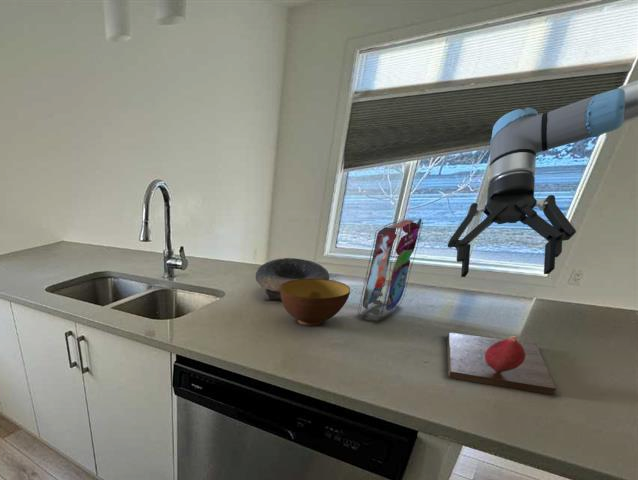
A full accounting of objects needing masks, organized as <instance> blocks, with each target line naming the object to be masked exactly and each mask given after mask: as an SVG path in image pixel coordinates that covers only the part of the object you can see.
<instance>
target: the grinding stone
mask: <svg viewBox="0 0 638 480" xmlns="http://www.w3.org/2000/svg"><path fill="white" fill-rule="evenodd" d="M297 279H327V280H330V274H329V271H328V270H327V269H326V268H325V267H324V266H322V265H321V264H320V263H317V262H314V261H311V260H308V259H303V258H297V257H296V258H295V257H283V258H277V259H272V260H270V261H267V262H265V263H263V264H262V265H260V266H259V267H258V269H257V270H256V272H255V280H256V282H257V283H258V284H259V285H260V286H261V287H262V288H263V289H264V290H265V295H266V301H274V300H281V294H280V289H281V285H282V284H284V283H286V282H288V281H292V280H297Z"/></svg>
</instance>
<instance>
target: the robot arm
mask: <svg viewBox="0 0 638 480" xmlns="http://www.w3.org/2000/svg"><path fill="white" fill-rule="evenodd" d="M636 120H638V79H637V80H634V81H632V82H629V83H626V84H623V85H621V86H619V87H616V88H614V89H610V90H608V91H605V92H601V93H598V94H597V93H596V94H595V95H593V96H590V97H586V98H584V99H581V100H579V101H578V100H577V101H576V102H573V103H570V104H567V105H564V106H561V107H558V108H556V109H552V110H550V111H547V112H543V113H538V111H537V109H534V108H533V107H525V108H524V109H521V108H519V109H514V110H512V111H510V112H508V113H505V114H504V115H503V116H501V117H500V118H499V119H498V120H497V121H496V122H495V123H494V125H493V127H492V133H491V139H490V141H489V165H488V167H489V168H488V178H487V179H488V180H487V185H488V187H487V195H486V204H478V203H477V202H473V203H471V204H470V207H469V209H468V211H467V214H466V216H465V218H464V219H463V220H462V222H461V223H460V225H459V226H458V228H457V229H456V230H455V232H454V233H453V234H452V236H451V237H450V239H449V240H448V243H447V248H450V249H451V248H455V250H456V262H457V263H461V272H460V273H461V274H460V278H466V277H467V275H468V274H469V271H470V258H471V257H470V256H471V244H470V243H472V241H474V240H475V239H476V238H477V237H478V236H479V235H481V233H483V232H484V231H485V230H486V229H487V228H489V227H490V226H491V225H492V224H493V223H495V224H497V225H505V224H517V223H518V222H520V223H521V224H523V225H524V226H526V225H527V226H528V227H529V228H531V230H533V231H534V232H536V233H537V234H538V235H539V236H541V237H542V238H544V239H545V240H546V241H547V242H546V244H545V245H544V261H543V262H544V263H543V264H544V265H543V266H544V267H543V275H549V274H551V273H552V272H553V271H554V270H555V269H556V258H558V257H559V256H560V255H561V254H562V252H563V241H569V240H570V239H571V238H572V237H573V236H575V234H576V233H577V230H576V228H575V227H574V226H573V225H572V224H571V221H569V219H568V218H567V217H566V215H565V214H564V213H563V212H562V210H561V209H560V207H559V206H558V205H557V202H556V196H555V195H554V194H550V195H548V196H547V197H545V198H539V199H536V198H535V184H536V183H535V182H536V181H535V179H536V177H535V176H536V164H537V163H536V162H537V161H536V158H537V154H539V153H541V152H546V151H548V150H552V149H556V148H559V147H563V146H567V145H570V144H573V143H577V142H581V141H584V140H587V139H590V138H598V137H601V136H603V135H604V134H607V133H610V132H614V131H616V130H618V129H620V128H621V127H622V126H623V125H624V124H627V123H630V122H634V121H636ZM536 207H537V208H538V209H539V211H542V212H543V215H544V216H545V217H546V219H547V220H548V221H549V222H548V221H547V220H545V219H544V218H543V217H541V216H540V215H538V212H537V211H536V210H534V208H536ZM482 212H483V213H484V215H486V217H485V218H484V219H483V220H482V221H481V222H480V223H479V224H477V226H475V227H474V228H472V230H471V231H470V232H468V233H467V234H466V235H465V236H464V237H462V238H461V236H462V235H463V233H464V232H465V231H466V230H467V228H468V227H469V226H470V224H471V223H472V221H473V219H474V217H477V216H479V215H480V213H482ZM460 238H461V239H460Z"/></svg>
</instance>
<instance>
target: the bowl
mask: <svg viewBox="0 0 638 480" xmlns="http://www.w3.org/2000/svg"><path fill="white" fill-rule="evenodd" d="M280 294H281V299H280V300H281V303H282V306H283V307H284V309H285V311H286V312H287V313H288V315H290V316H291V317H292V318H294V319H296V320H297V323H299V324H301V325H303V326H309V327H313V326H314V327H315V326H319V325H321V324H322V322H325V321H327V320H330V319H331V318H332V317H333V318H334V316H335V315H337V314H338V313H340V310H342V309H343V307H344V306H345V305H346V303H347V301H348V299H349V296H350V294H351V287H350V286H349V285H347V284H346V283H343V282H341V281H337V280H333V279H329V280H327V279H297V280H292V281H288V282H286V283H284V284H282V285H281V289H280Z"/></svg>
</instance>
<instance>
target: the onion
mask: <svg viewBox="0 0 638 480" xmlns="http://www.w3.org/2000/svg"><path fill="white" fill-rule="evenodd" d="M517 341H518V336H515V335H512V336H510V337H508V338H504V340H501V341H498V342H496V343H494V344H493V345H491V346H490V347H489V348H488V349H487V351H486V353H485V361H486V363H487V364H488V365H489V366H490V367H491V368H492V369H494V370H495V371H496V372H498V373H502V372H504V371H508V370H512V369H515V368H517V367H518V366H520V365H521V364H522V363H523V361H524V360H525V351H524V348H523V347H522V346H521V345H520V344H519V343H518V342H517Z"/></svg>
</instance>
